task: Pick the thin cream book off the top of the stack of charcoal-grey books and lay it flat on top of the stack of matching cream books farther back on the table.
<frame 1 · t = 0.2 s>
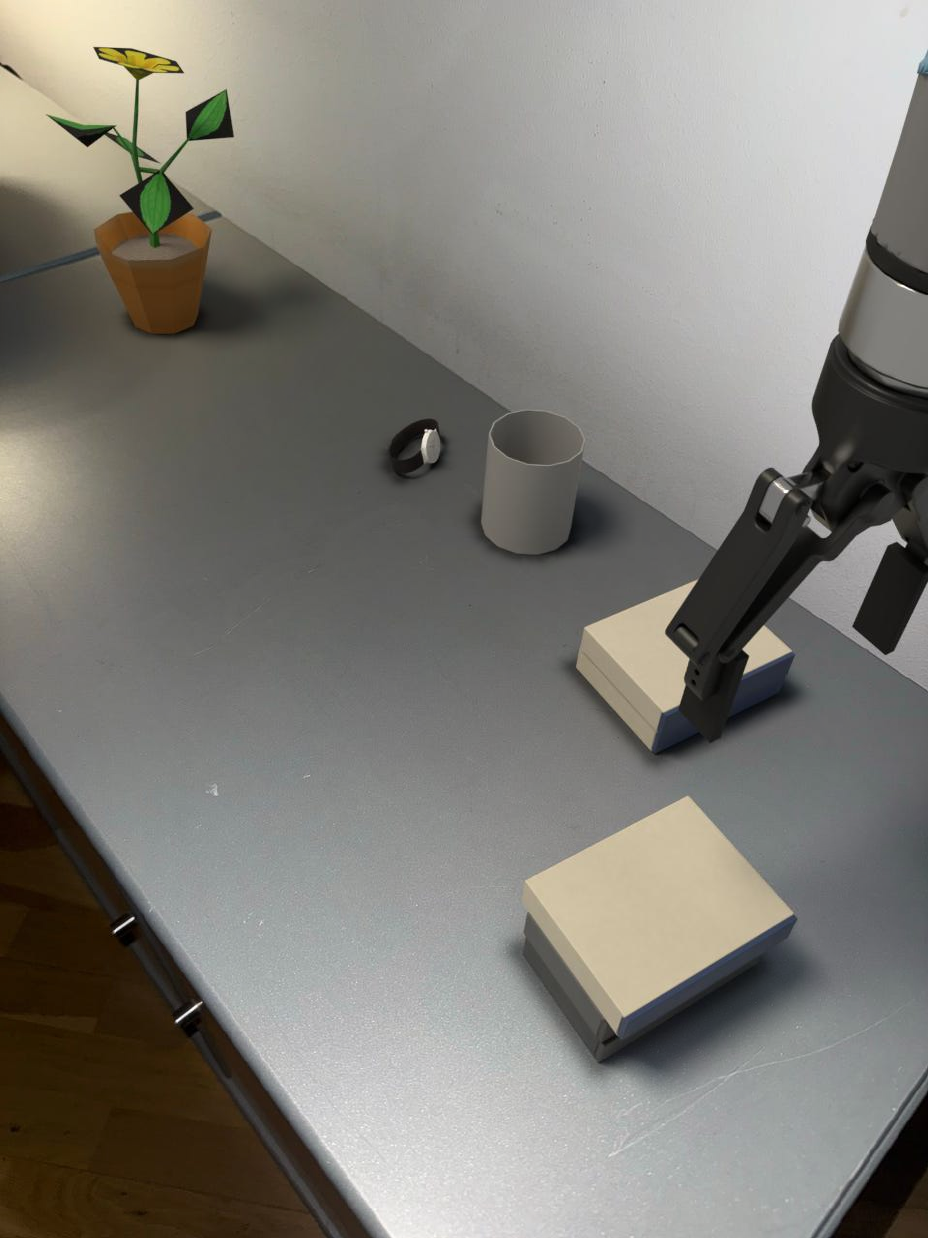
hand: (789, 679, 63), 20 cm above the table, tool pointing down, fingers open, 13 cm apart
grey stack: (638, 957, 71), on the table
cream book: (651, 918, 68), point 5 cm above the table, touching grey stack
cream stack: (675, 679, 89), on the table
cup: (525, 526, 102), on the table
watch: (414, 458, 109), on the table
potted plant: (167, 318, 125), on the table
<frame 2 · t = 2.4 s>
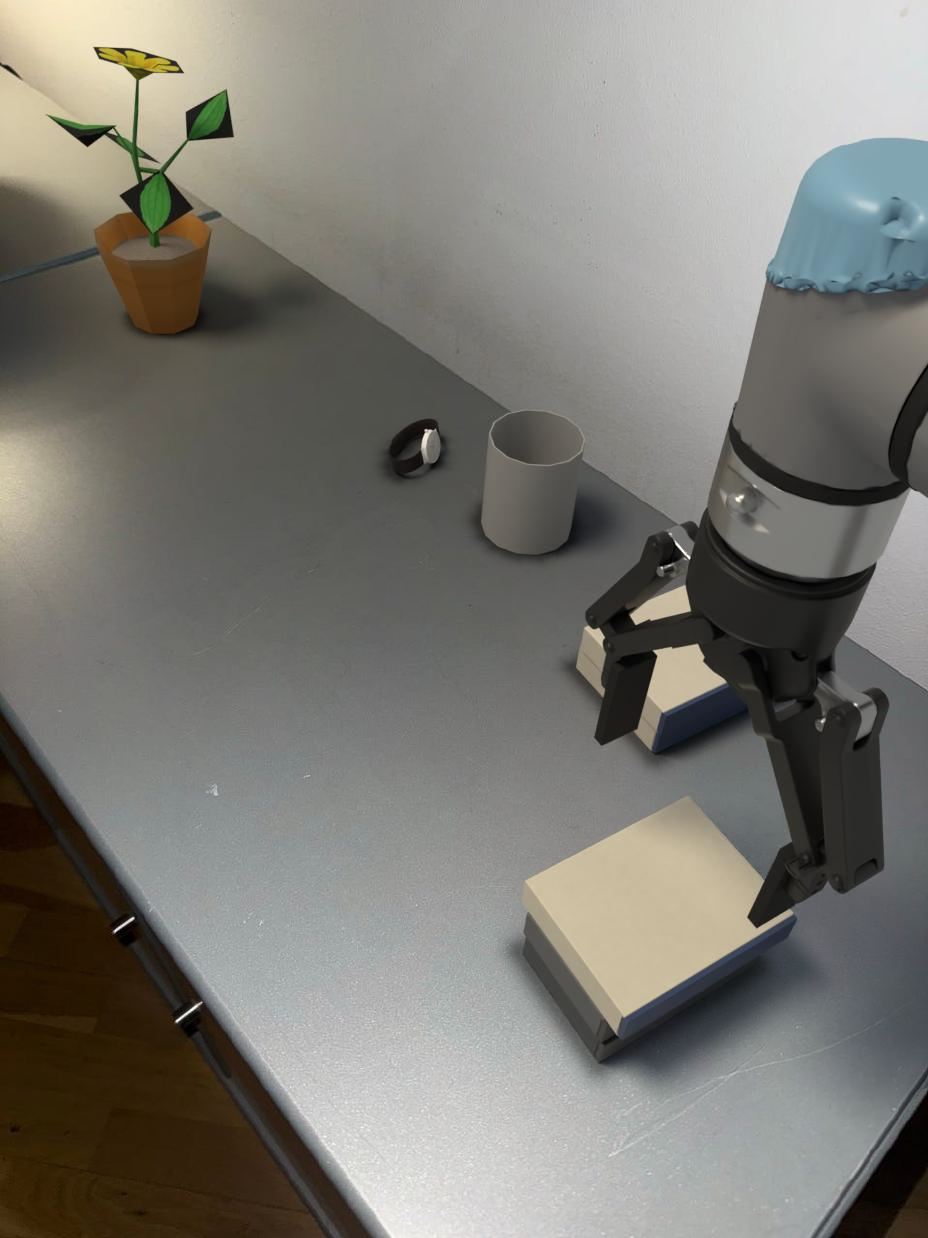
hand: (688, 817, 61), 15 cm above the table, tool pointing down, fingers open, 13 cm apart
nothing on the table moved.
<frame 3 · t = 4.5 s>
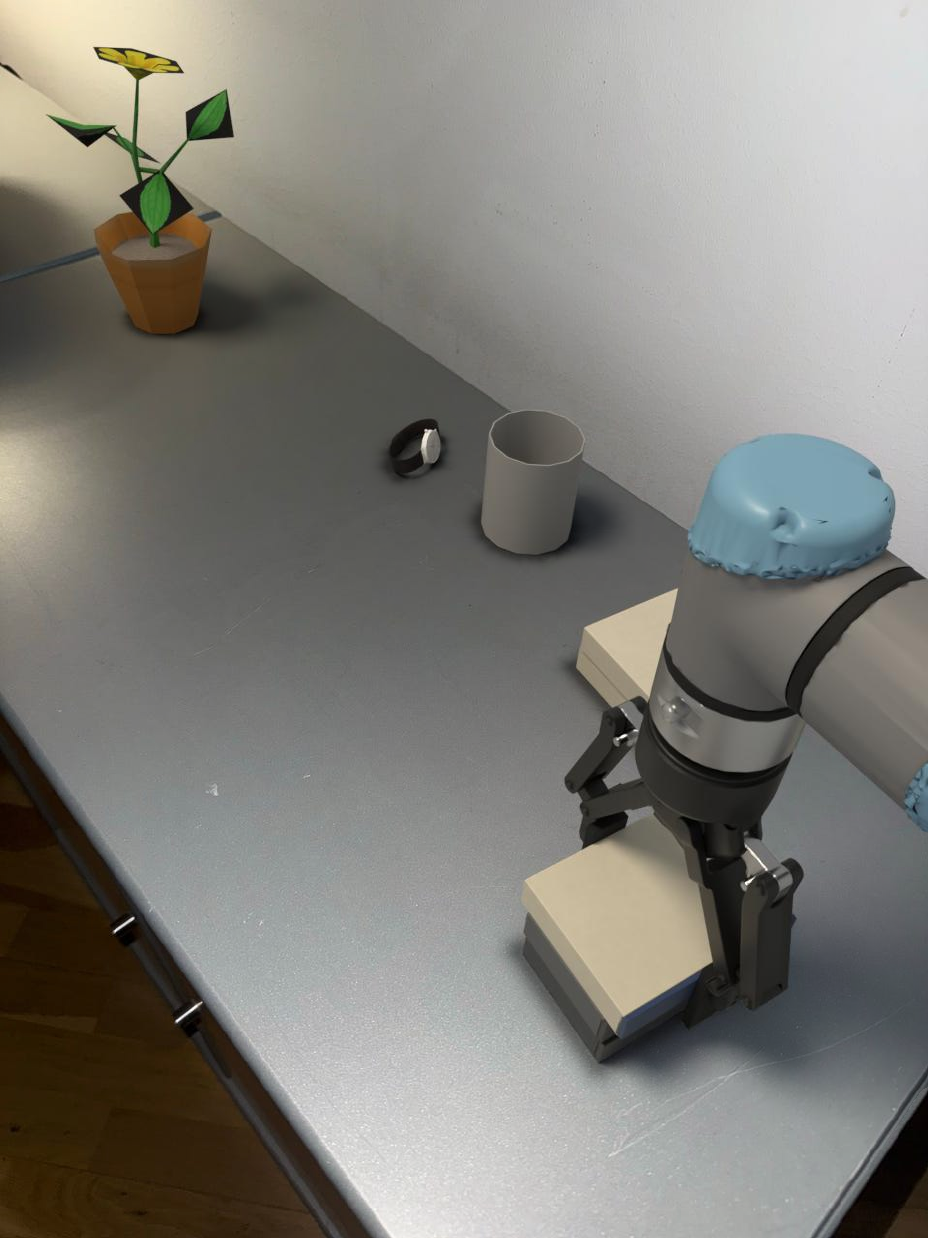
hand: (644, 942, 70), 2 cm above the table, tool pointing down, fingers closed on cream book, 10 cm apart
cream book: (651, 917, 68), point 5 cm above the table, touching grey stack, gripper
everything else where it was.
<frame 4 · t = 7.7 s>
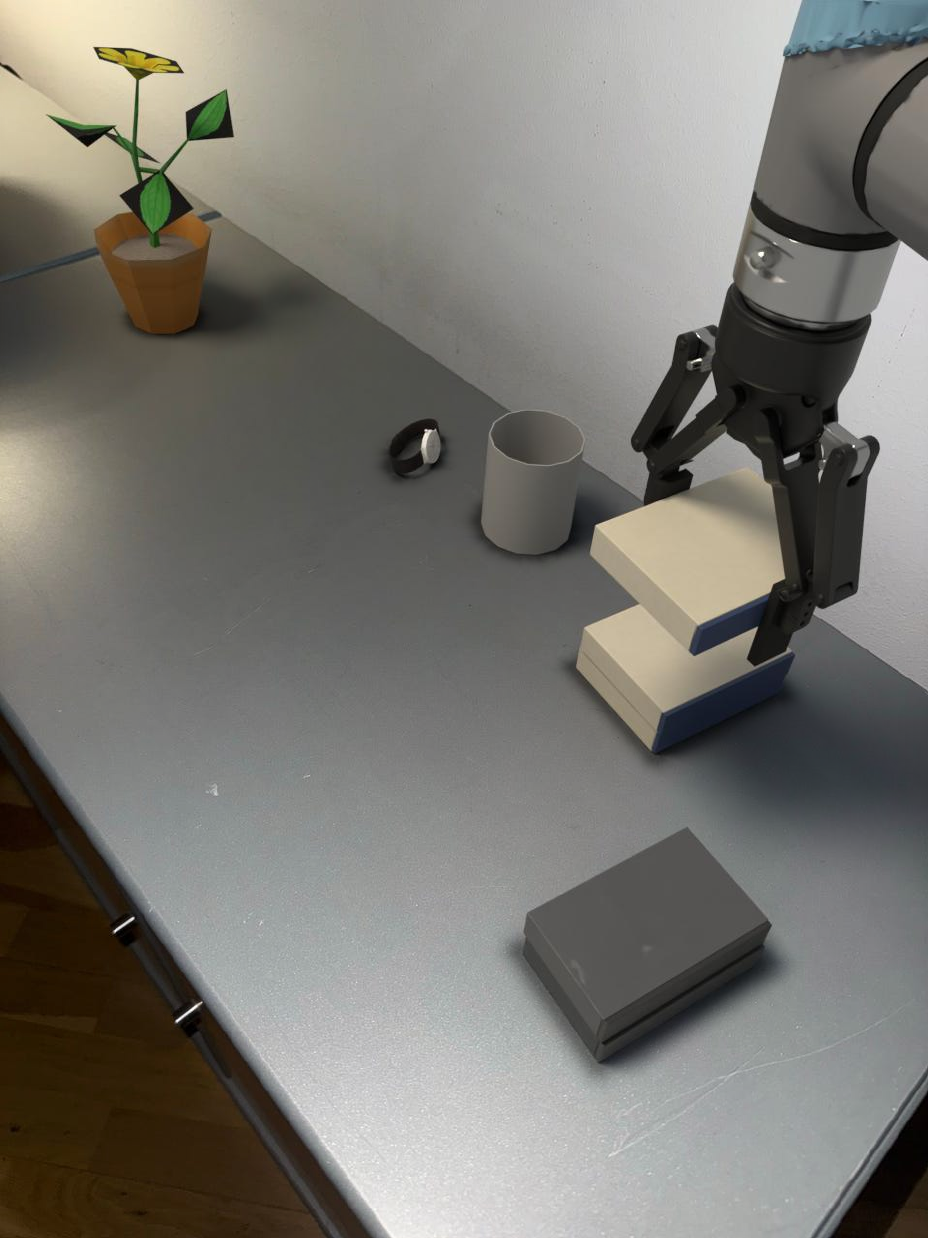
hand: (708, 601, 72), 16 cm above the table, tool pointing down, fingers closed on cream book, 10 cm apart
cream book: (716, 568, 70), point 19 cm above the table, touching gripper
everything else where it was.
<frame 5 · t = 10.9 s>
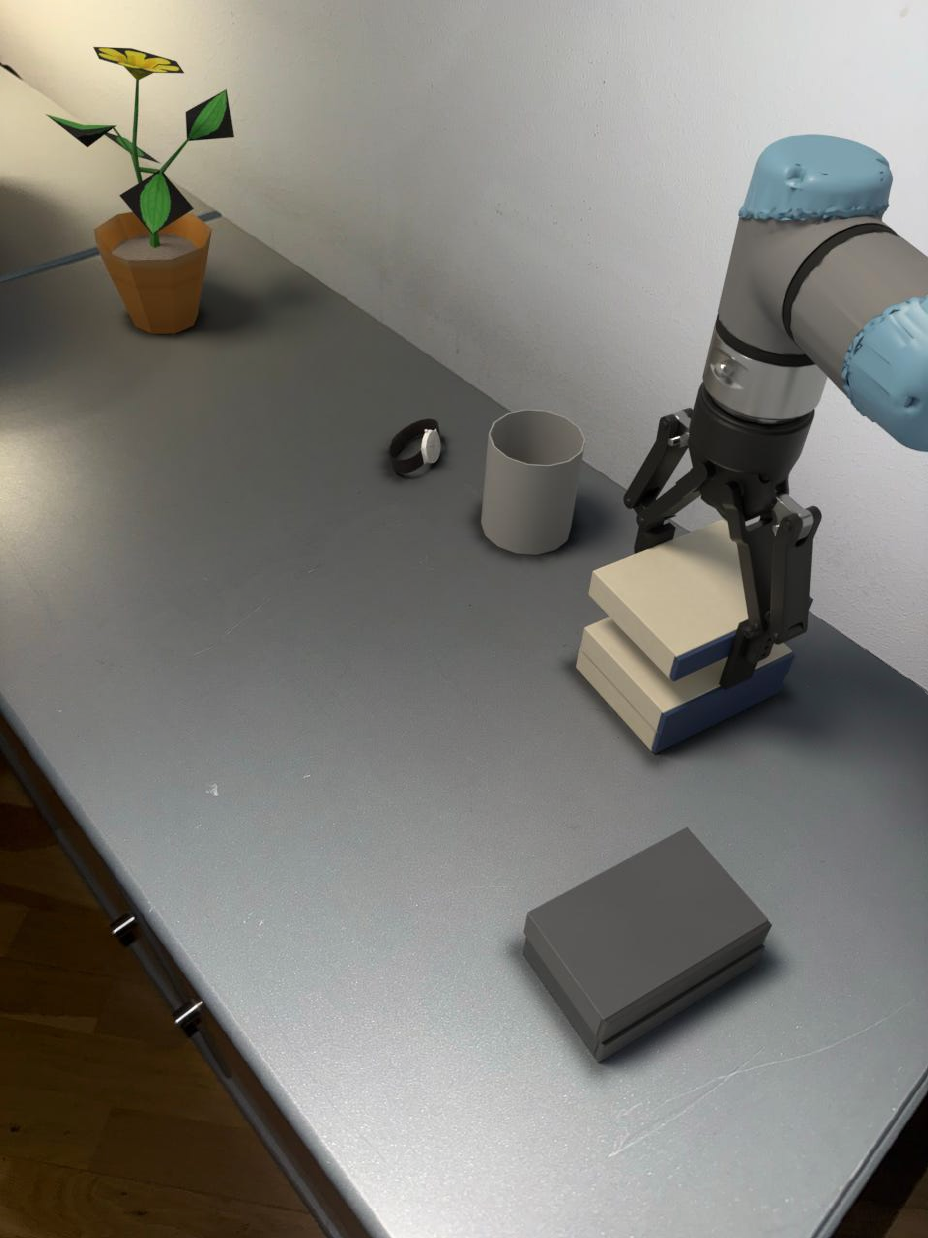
hand: (688, 634, 86), 5 cm above the table, tool pointing down, fingers closed on cream book, 10 cm apart
cream book: (694, 606, 84), point 8 cm above the table, touching gripper
everything else where it was.
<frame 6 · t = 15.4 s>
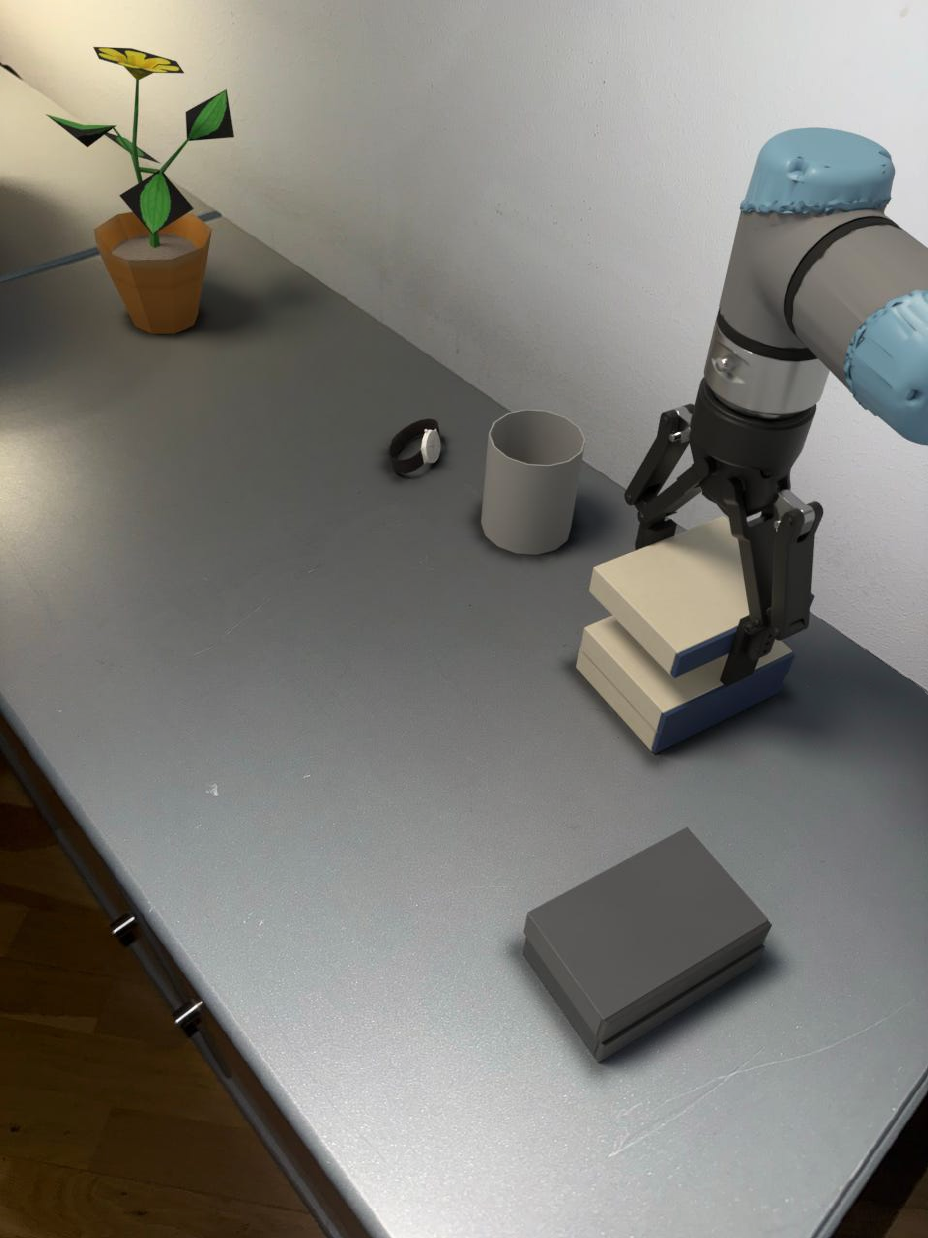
hand: (689, 631, 85), 6 cm above the table, tool pointing down, fingers closed on cream book, 10 cm apart
cream book: (695, 603, 83), point 8 cm above the table, touching gripper
everything else where it was.
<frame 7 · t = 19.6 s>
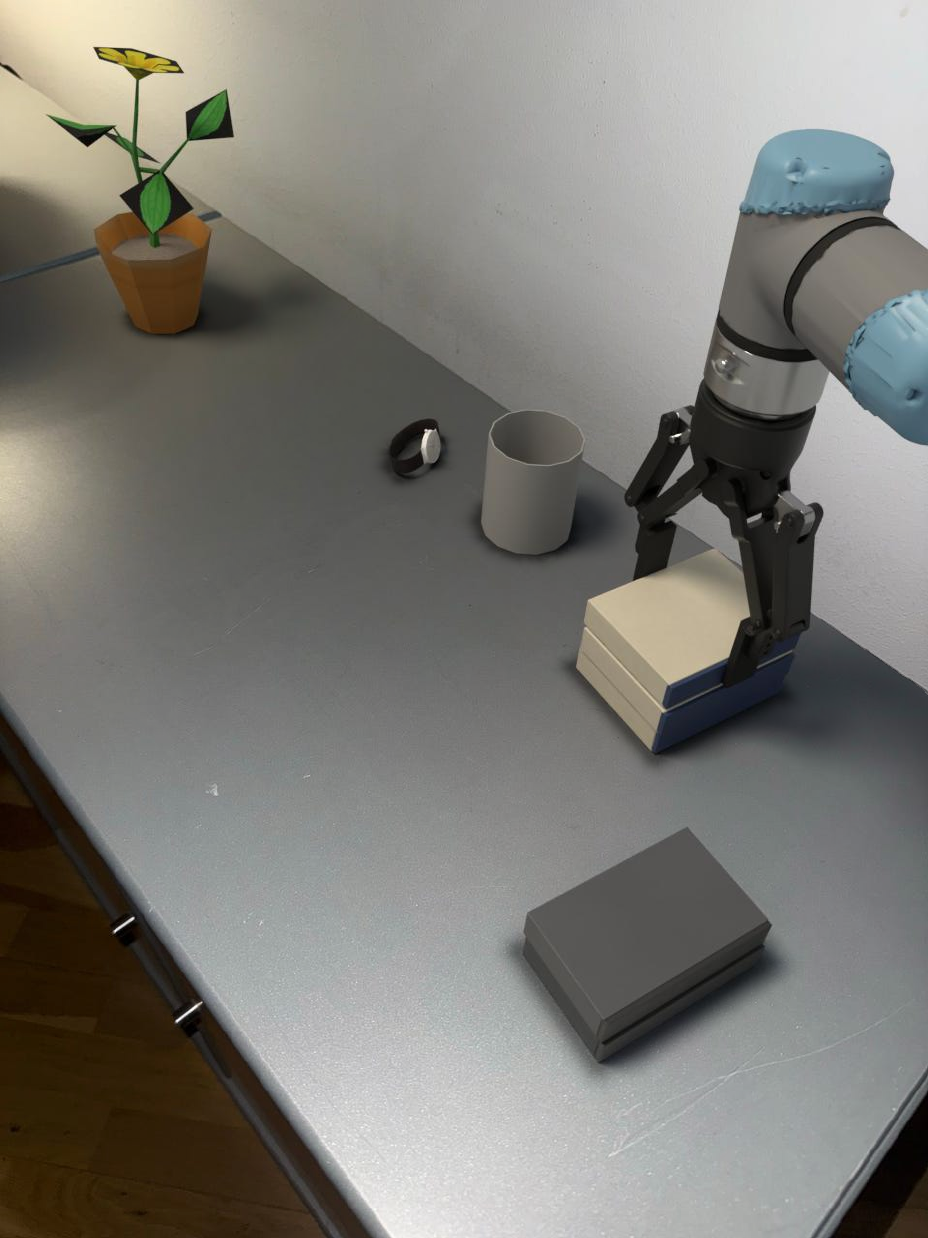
hand: (689, 632, 85), 6 cm above the table, tool pointing down, fingers closed on cream book, 10 cm apart
cream book: (687, 634, 86), point 5 cm above the table, touching gripper
everything else where it was.
when the fingers open (6 cm above the table, at t = 19.7 s): cream book stays where it is, resting on cream stack.
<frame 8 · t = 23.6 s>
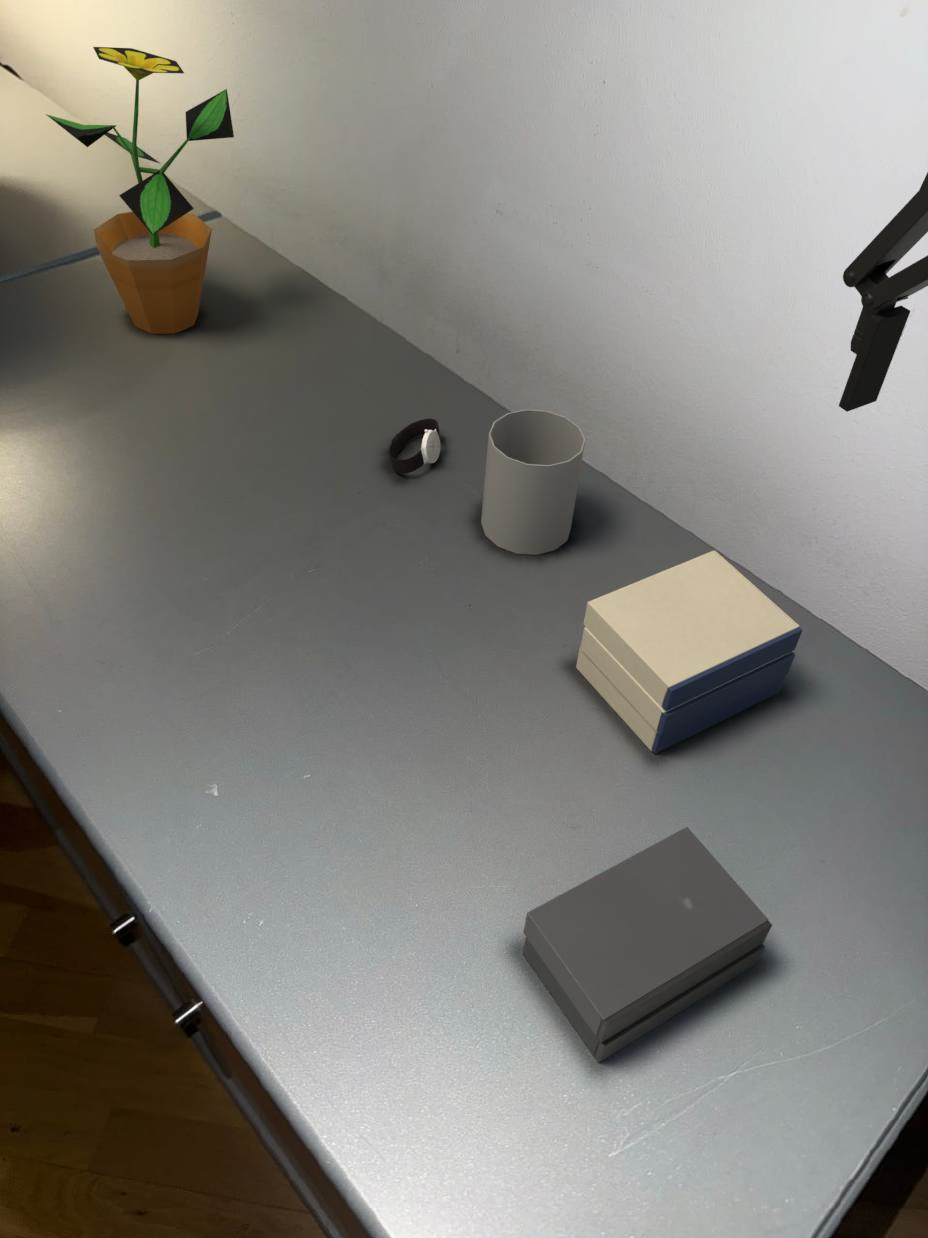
cream book: (686, 636, 86), point 5 cm above the table, touching cream stack
everything else where it was.
at the end: cream book 0.1 cm off-centre on the cream stack, point 5.0 cm above the cream stack's base; cream book tilted 0°; the gripper is holding nothing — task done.
